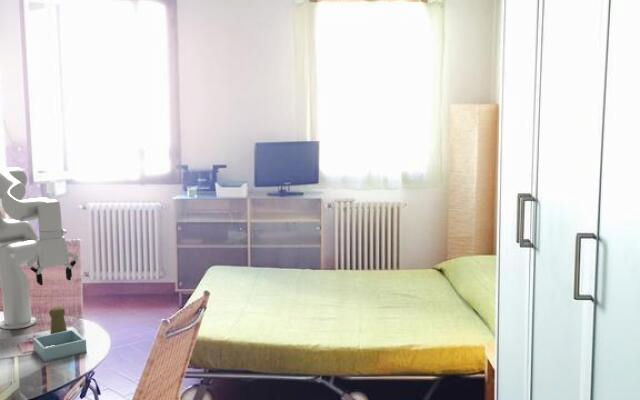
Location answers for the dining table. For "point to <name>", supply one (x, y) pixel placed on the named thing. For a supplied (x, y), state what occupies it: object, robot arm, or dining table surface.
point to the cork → (57, 320)
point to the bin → (59, 345)
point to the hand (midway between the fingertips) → (54, 282)
